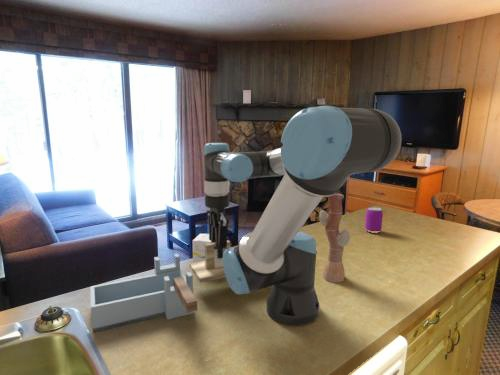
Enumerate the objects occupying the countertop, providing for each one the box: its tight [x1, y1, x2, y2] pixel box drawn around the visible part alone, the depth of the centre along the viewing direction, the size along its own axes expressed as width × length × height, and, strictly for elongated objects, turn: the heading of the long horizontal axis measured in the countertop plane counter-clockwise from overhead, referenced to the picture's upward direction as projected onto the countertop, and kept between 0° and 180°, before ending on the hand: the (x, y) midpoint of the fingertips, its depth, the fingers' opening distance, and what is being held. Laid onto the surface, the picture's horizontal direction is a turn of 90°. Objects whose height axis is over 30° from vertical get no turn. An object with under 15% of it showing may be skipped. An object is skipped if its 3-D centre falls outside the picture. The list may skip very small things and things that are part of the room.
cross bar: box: [173, 277, 198, 313], centre depth 85 cm, size 14×2×2 cm, turn 26°
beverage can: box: [364, 206, 384, 232], centre depth 163 cm, size 8×8×12 cm
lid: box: [189, 239, 231, 283], centre depth 107 cm, size 11×25×10 cm, turn 116°
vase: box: [318, 192, 351, 283], centre depth 113 cm, size 10×7×30 cm
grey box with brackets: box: [90, 253, 195, 333], centre depth 94 cm, size 17×26×12 cm, turn 116°
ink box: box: [192, 233, 211, 263], centre depth 122 cm, size 8×8×12 cm
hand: (217, 265), depth 105 cm, fingers closed on lid, 2 cm apart
